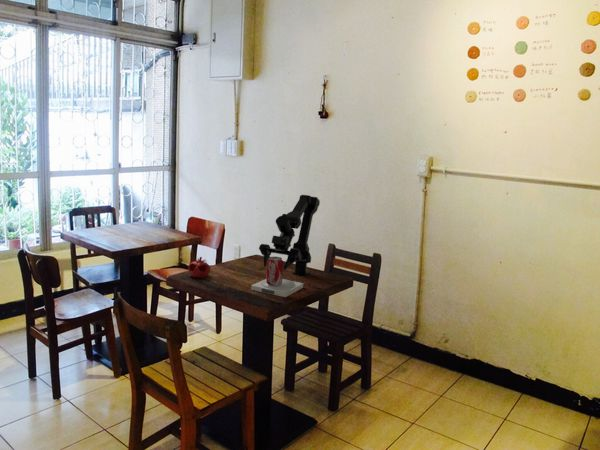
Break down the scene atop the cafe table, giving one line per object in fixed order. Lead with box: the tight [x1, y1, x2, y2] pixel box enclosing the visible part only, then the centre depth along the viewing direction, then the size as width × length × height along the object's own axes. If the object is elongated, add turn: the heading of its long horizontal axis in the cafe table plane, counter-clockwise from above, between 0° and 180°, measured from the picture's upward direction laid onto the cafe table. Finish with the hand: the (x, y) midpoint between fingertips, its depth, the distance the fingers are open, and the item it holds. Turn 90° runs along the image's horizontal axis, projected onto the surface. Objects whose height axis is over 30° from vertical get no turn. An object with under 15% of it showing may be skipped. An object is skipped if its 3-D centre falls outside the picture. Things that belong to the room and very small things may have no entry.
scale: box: [250, 278, 304, 298], centre depth 233 cm, size 17×17×2 cm
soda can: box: [265, 256, 284, 286], centre depth 229 cm, size 7×7×12 cm
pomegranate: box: [188, 256, 211, 279], centre depth 245 cm, size 10×10×9 cm
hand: (274, 268), depth 227 cm, fingers open, 9 cm apart
